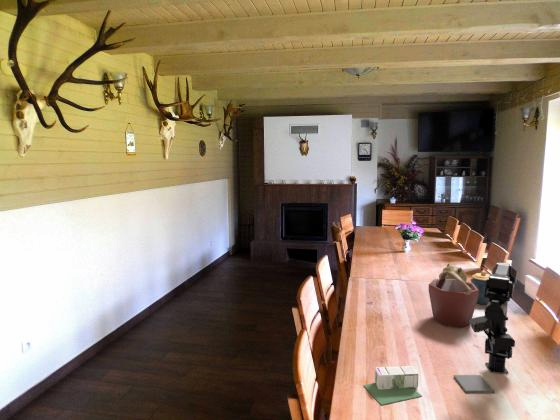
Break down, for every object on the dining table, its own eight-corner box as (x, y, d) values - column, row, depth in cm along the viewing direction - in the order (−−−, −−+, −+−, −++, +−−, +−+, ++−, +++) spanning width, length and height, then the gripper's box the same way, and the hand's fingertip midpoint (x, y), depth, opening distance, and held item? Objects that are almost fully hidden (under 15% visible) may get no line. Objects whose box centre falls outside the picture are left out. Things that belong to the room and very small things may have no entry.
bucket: (481, 333, 186) (484, 281, 183) (431, 329, 190) (433, 279, 187) (467, 313, 210) (470, 267, 206) (423, 310, 214) (425, 265, 211)
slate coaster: (453, 377, 150) (453, 375, 149) (480, 376, 149) (480, 374, 149) (465, 392, 140) (465, 390, 140) (494, 392, 139) (494, 390, 139)
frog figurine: (432, 280, 265) (435, 262, 264) (454, 279, 271) (456, 262, 270) (447, 286, 252) (449, 268, 251) (469, 285, 258) (472, 268, 257)
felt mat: (401, 378, 149) (401, 377, 149) (421, 396, 138) (421, 395, 138) (363, 386, 144) (363, 385, 144) (381, 405, 133) (381, 404, 133)
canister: (488, 297, 233) (490, 268, 230) (498, 305, 220) (500, 274, 217) (465, 296, 234) (467, 267, 232) (474, 304, 221) (476, 274, 219)
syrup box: (413, 365, 147) (374, 366, 146) (419, 373, 141) (378, 375, 140) (412, 379, 148) (373, 380, 147) (418, 388, 142) (378, 390, 141)
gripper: (465, 300, 149) (462, 340, 151) (480, 320, 131) (477, 365, 133) (497, 302, 147) (494, 342, 149) (517, 323, 129) (513, 368, 131)
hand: (494, 353), depth 141 cm, fingers closed
